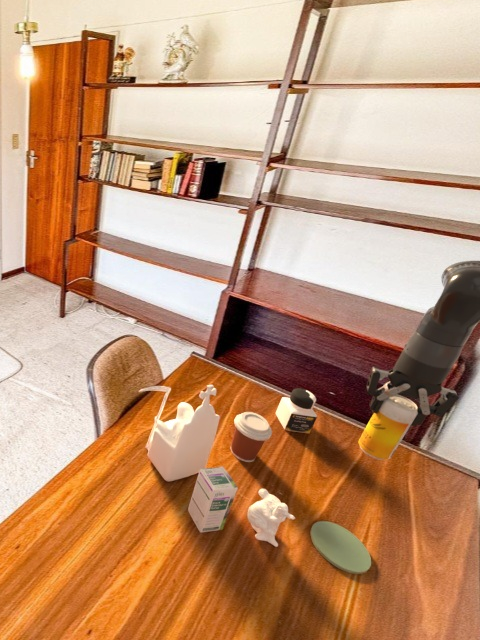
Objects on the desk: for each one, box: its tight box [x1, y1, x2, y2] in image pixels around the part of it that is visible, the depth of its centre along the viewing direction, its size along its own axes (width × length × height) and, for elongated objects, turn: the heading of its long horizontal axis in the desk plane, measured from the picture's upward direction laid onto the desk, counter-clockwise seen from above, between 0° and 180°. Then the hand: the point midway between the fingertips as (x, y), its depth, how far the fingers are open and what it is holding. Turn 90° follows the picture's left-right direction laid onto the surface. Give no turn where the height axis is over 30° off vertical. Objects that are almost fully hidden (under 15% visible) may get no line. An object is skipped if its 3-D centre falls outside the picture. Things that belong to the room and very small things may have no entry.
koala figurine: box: [246, 488, 296, 548], centre depth 88 cm, size 8×7×12 cm
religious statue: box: [138, 384, 221, 482], centre depth 102 cm, size 17×14×30 cm
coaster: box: [309, 520, 372, 575], centre depth 88 cm, size 11×11×1 cm
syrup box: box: [187, 465, 238, 534], centre depth 90 cm, size 6×6×14 cm
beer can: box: [357, 394, 419, 461], centre depth 89 cm, size 6×6×15 cm
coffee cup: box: [229, 411, 273, 463], centre depth 109 cm, size 9×9×12 cm
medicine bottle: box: [275, 387, 318, 434], centre depth 119 cm, size 7×7×12 cm
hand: (392, 417), depth 88 cm, fingers closed on beer can, 6 cm apart
